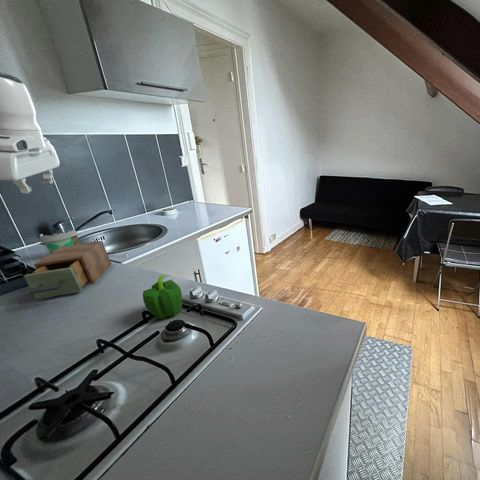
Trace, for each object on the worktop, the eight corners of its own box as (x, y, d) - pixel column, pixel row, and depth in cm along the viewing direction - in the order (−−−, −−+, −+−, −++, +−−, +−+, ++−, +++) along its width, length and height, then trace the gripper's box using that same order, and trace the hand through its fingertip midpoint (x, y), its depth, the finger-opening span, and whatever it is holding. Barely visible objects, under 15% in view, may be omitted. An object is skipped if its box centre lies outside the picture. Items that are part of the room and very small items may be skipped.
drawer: (73, 299, 75) (61, 275, 72) (26, 308, 72) (12, 283, 69) (100, 271, 91) (91, 250, 88) (62, 277, 88) (52, 256, 85)
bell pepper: (171, 325, 63) (159, 290, 59) (143, 322, 65) (130, 288, 61) (193, 304, 71) (184, 272, 67) (168, 301, 73) (157, 270, 69)
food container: (41, 262, 103) (29, 239, 99) (51, 256, 108) (40, 233, 104) (78, 257, 106) (67, 234, 102) (86, 251, 111) (76, 229, 107)
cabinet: (93, 283, 85) (81, 256, 81) (48, 291, 82) (33, 264, 78) (111, 264, 98) (102, 240, 94) (73, 270, 95) (61, 246, 91)
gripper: (34, 134, 81) (47, 179, 87) (-26, 142, 63) (-3, 197, 69) (59, 137, 82) (71, 180, 88) (8, 145, 65) (27, 199, 71)
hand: (38, 188), depth 78 cm, fingers open, 8 cm apart
